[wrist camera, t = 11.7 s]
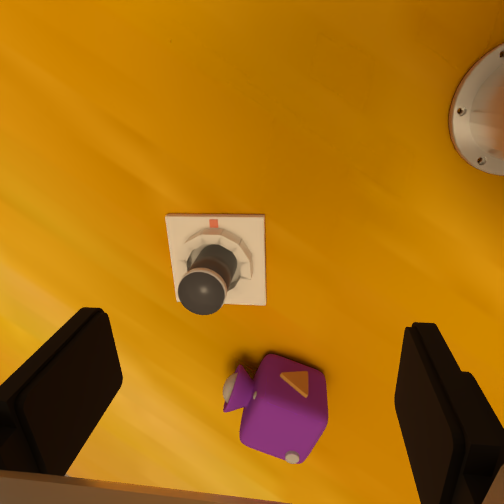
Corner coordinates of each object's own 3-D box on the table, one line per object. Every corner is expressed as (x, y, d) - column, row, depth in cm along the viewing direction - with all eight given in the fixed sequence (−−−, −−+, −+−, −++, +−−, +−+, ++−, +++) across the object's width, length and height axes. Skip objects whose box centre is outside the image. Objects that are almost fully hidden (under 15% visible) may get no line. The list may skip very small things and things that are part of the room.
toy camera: (233, 339, 51) (218, 392, 42) (329, 358, 50) (334, 417, 41) (225, 395, 56) (209, 454, 47) (313, 413, 55) (315, 477, 46)
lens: (236, 243, 44) (223, 273, 37) (238, 281, 46) (226, 316, 39) (195, 242, 45) (174, 271, 38) (199, 280, 47) (179, 314, 40)
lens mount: (264, 214, 43) (261, 222, 40) (266, 301, 48) (264, 314, 45) (167, 213, 45) (159, 221, 42) (179, 297, 50) (171, 309, 47)
